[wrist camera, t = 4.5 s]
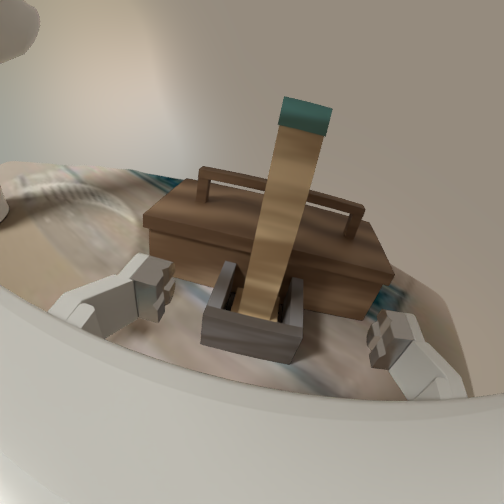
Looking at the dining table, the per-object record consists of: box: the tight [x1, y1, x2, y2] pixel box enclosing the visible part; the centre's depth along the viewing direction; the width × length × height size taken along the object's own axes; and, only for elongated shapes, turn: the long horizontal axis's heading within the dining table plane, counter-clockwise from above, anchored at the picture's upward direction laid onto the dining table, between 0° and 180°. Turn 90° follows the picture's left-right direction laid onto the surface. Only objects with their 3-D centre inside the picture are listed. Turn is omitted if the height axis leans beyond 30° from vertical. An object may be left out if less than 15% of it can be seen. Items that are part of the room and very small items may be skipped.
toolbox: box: [143, 166, 395, 364], centre depth 30 cm, size 21×27×12 cm
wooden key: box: [231, 97, 332, 322], centre depth 22 cm, size 4×4×21 cm
